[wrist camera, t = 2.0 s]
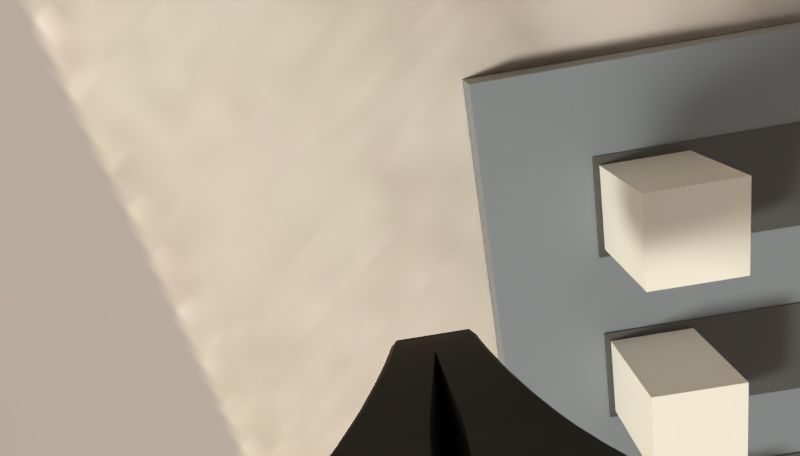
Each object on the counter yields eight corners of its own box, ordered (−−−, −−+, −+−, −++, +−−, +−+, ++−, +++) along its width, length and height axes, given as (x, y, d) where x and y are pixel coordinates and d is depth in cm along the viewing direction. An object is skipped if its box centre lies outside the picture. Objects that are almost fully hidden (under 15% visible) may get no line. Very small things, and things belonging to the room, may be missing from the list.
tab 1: (691, 234, 18) (750, 275, 15) (605, 249, 18) (646, 292, 15) (689, 150, 17) (751, 175, 14) (598, 165, 17) (642, 193, 14)
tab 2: (694, 398, 20) (747, 462, 17) (615, 410, 20) (654, 476, 17) (693, 327, 19) (748, 382, 16) (610, 340, 19) (651, 397, 16)
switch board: (950, 518, 23) (991, 553, 22) (527, 581, 24) (538, 619, 22) (1027, -18, 17) (1090, -22, 16) (462, 79, 18) (469, 85, 16)
